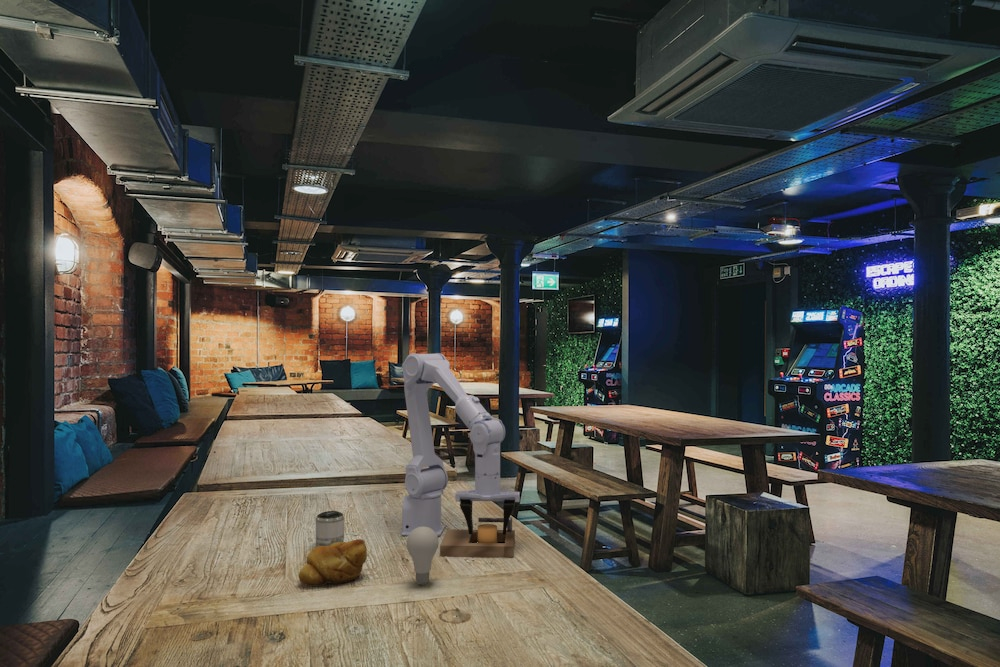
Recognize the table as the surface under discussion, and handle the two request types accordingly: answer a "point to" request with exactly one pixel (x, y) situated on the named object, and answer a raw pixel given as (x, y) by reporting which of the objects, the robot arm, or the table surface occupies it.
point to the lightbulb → (422, 551)
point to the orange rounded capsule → (487, 533)
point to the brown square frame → (476, 544)
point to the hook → (509, 525)
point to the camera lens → (329, 528)
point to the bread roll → (334, 563)
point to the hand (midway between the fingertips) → (487, 533)
